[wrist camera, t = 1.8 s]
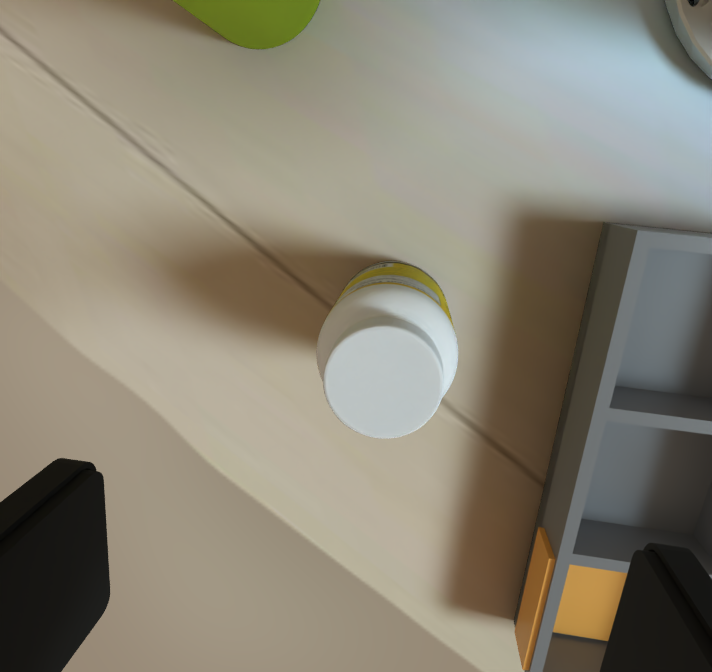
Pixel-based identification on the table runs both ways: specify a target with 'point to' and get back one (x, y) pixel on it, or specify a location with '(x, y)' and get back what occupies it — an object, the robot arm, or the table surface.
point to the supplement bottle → (387, 350)
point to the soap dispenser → (254, 19)
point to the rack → (623, 443)
